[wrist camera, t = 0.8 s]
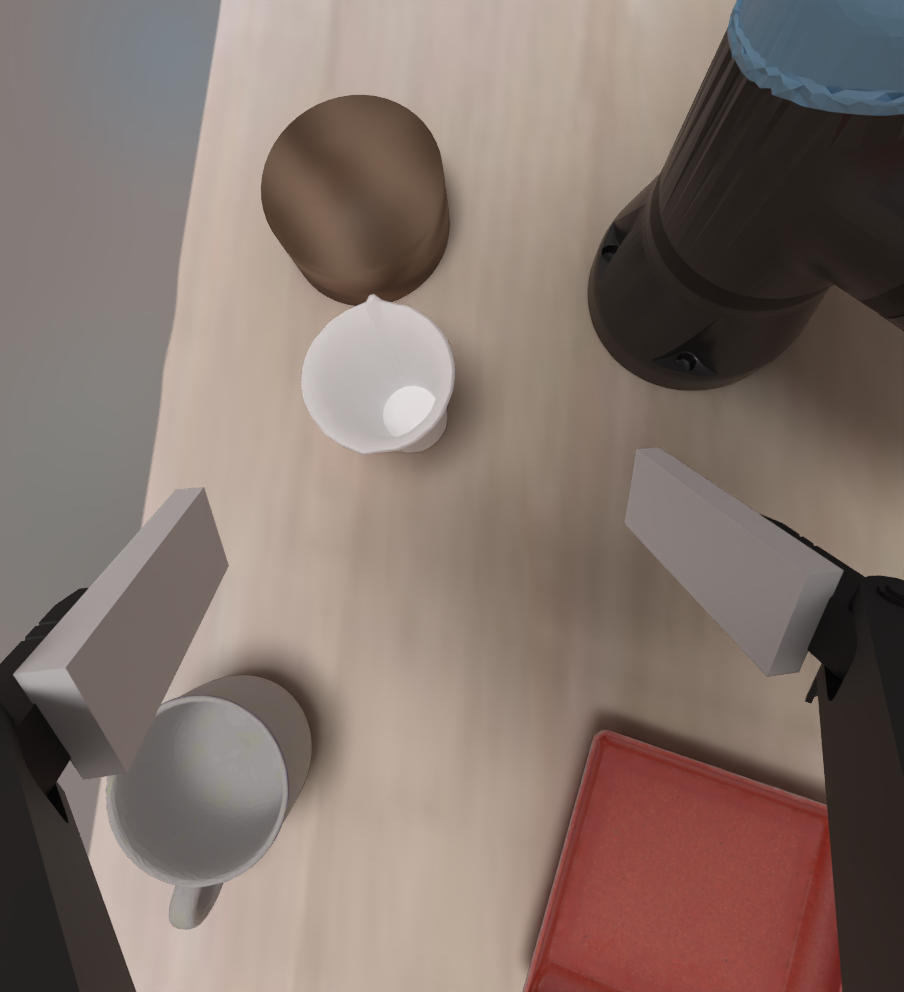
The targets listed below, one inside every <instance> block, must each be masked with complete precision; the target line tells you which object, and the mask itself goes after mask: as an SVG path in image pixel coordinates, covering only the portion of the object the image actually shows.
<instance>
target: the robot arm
mask: <svg viewBox="0 0 904 992" xmlns="http://www.w3.org/2000/svg"><path fill="white" fill-rule="evenodd" d="M833 284H835V285H836V286H838V287H839V288H841V289H842V290H844V291H845V292H847V293H848V294H850V295H851V296H853V297H854V298H856V299H857V300H859V301H861V302H862V303H864V304H865V305H867V306H868V307H870V308H871V309H873V310H874V311H876V312H877V313H879V314H880V315H881V316H883V317H884V318H885V319H886V320H888V321H889V322H891V323H892V324H894V325H895V326H897V327H898V328H900V329H901V330H903V331H904V0H737V2H736V4H735V6H734V8H733V10H732V13H731V17H730V21H729V26H728V28H727V30H726V33H725V35H724V37H723V39H722V41H721V43H720V46H719V48H718V50H717V52H716V54H715V56H714V59H713V61H712V63H711V65H710V67H709V69H708V71H707V74H706V76H705V78H704V80H703V82H702V84H701V87H700V89H699V91H698V93H697V95H696V97H695V100H694V102H693V104H692V106H691V108H690V110H689V112H688V115H687V117H686V119H685V121H684V123H683V125H682V128H681V130H680V132H679V134H678V136H677V138H676V141H675V143H674V145H673V147H672V149H671V151H670V154H669V156H668V158H667V160H666V163H665V165H664V167H663V169H662V171H661V173H660V174H659V175H658V176H657V177H656V178H655V179H654V180H653V181H652V182H651V183H650V184H649V185H648V186H647V187H645V188H644V189H643V190H642V191H641V192H640V193H639V194H638V195H637V196H636V197H635V198H634V199H633V200H632V201H631V202H630V203H629V204H628V205H627V206H626V207H625V208H624V209H623V210H622V211H621V212H620V213H619V214H618V216H617V217H616V218H615V220H614V221H613V222H612V224H611V225H610V227H609V228H608V230H607V232H606V233H605V235H604V237H603V239H602V241H601V244H600V246H599V249H598V251H597V254H596V257H595V259H594V262H593V265H592V268H591V272H590V276H589V283H588V304H589V310H590V315H591V319H592V322H593V325H594V327H595V330H596V332H597V334H598V336H599V338H600V339H601V341H602V343H603V344H604V346H605V347H606V348H607V350H608V351H609V352H610V353H611V355H612V356H613V357H614V358H615V359H616V360H617V361H618V362H619V363H620V364H622V365H623V366H624V367H625V368H627V369H628V370H629V371H631V372H632V373H634V374H635V375H637V376H639V377H641V378H643V379H645V380H647V381H649V382H652V383H655V384H657V385H661V386H664V387H669V388H673V389H680V390H705V389H712V388H717V387H721V386H725V385H728V384H731V383H734V382H736V381H738V380H741V379H743V378H745V377H747V376H748V375H750V374H752V373H753V372H755V371H757V370H758V369H760V368H761V367H763V366H765V365H766V364H768V363H769V362H771V361H772V360H774V359H775V358H776V357H778V356H779V355H780V354H781V353H782V352H783V351H784V350H785V349H787V348H788V346H789V345H790V344H791V343H792V342H793V341H794V340H795V339H796V338H797V336H798V335H799V334H800V332H801V331H802V330H803V328H804V327H805V325H806V323H807V322H808V320H809V319H810V317H811V316H812V314H813V312H814V311H815V309H816V308H817V306H818V305H819V303H820V301H821V300H822V298H823V297H824V295H825V294H826V292H827V290H828V289H829V287H830V286H832V285H833ZM624 524H625V525H626V526H627V527H628V528H629V529H630V530H631V531H632V532H633V534H634V535H635V536H636V537H637V538H638V539H639V540H640V541H641V542H642V543H643V544H644V545H645V546H646V547H647V549H648V550H649V551H650V552H651V553H652V554H653V555H654V556H655V557H656V558H657V559H658V560H659V561H660V562H661V564H662V565H663V566H664V567H665V568H666V569H667V570H668V571H669V572H670V573H671V574H672V575H673V576H674V577H675V579H676V580H677V581H678V582H679V583H680V584H681V585H682V586H683V587H684V588H685V589H686V590H687V591H688V592H689V594H690V595H691V596H692V597H693V598H694V599H695V600H696V601H697V602H698V603H699V604H700V605H701V606H702V607H703V609H704V610H705V611H706V612H707V613H708V614H709V615H710V616H711V617H712V618H713V619H714V620H715V621H716V622H717V624H718V625H719V626H720V627H721V628H722V629H723V630H724V631H725V632H726V633H727V634H728V635H729V636H730V638H731V639H732V640H733V641H734V642H735V643H736V644H737V645H738V646H739V647H740V648H741V649H742V650H743V651H744V653H745V654H746V655H747V656H748V657H749V658H750V659H751V660H752V661H753V662H754V663H755V664H756V665H757V666H758V668H759V669H760V670H761V671H762V672H763V673H764V674H765V675H766V676H767V677H769V676H776V675H782V674H789V673H796V672H799V671H800V668H801V666H802V664H803V662H804V659H805V657H806V655H807V652H808V651H809V652H810V653H811V654H812V655H814V656H815V657H816V658H817V659H818V660H819V661H820V662H821V663H822V664H821V666H820V668H819V670H818V672H817V675H816V677H815V679H814V681H813V683H812V685H811V687H810V689H809V692H808V694H807V696H806V700H805V701H806V702H808V703H812V701H813V699H814V697H815V696H818V701H819V714H820V726H821V738H822V750H823V762H824V775H825V787H826V799H827V811H828V823H829V835H830V848H831V860H832V872H833V884H834V896H835V908H836V921H837V933H838V945H839V957H840V969H841V982H842V992H904V580H901V579H898V578H893V577H886V576H868V577H864V576H863V575H861V574H860V573H858V572H856V571H855V570H853V569H852V568H850V567H849V566H847V565H846V564H844V563H843V562H841V561H840V560H838V559H836V558H835V557H833V556H832V555H830V554H829V553H827V552H826V551H824V550H823V549H821V548H820V547H818V546H814V544H813V543H812V542H810V541H809V540H807V539H806V538H804V537H800V536H799V534H798V533H797V532H795V531H794V530H792V529H790V528H789V527H787V526H786V525H784V524H783V523H781V522H778V521H776V520H773V519H771V518H768V517H766V516H764V515H761V514H758V513H757V512H755V511H754V510H752V509H751V508H749V507H748V506H746V505H745V504H743V503H742V502H740V501H739V500H737V499H736V498H734V497H733V496H731V495H730V494H728V493H727V492H725V491H724V490H722V489H721V488H719V487H718V486H716V485H715V484H713V483H712V482H710V481H709V480H707V479H706V478H704V477H703V476H701V475H700V474H698V473H697V472H695V471H694V470H692V469H691V468H689V467H688V466H686V465H685V464H683V463H682V462H680V461H679V460H677V459H676V458H674V457H673V456H671V455H670V454H668V453H667V452H665V451H664V450H662V449H661V448H659V447H656V448H645V449H636V455H635V461H634V467H633V473H632V479H631V485H630V492H629V498H628V504H627V510H626V516H625V522H624ZM228 566H229V565H228V562H227V559H226V556H225V552H224V549H223V546H222V543H221V540H220V536H219V533H218V530H217V527H216V524H215V521H214V517H213V514H212V511H211V508H210V505H209V501H208V498H207V495H206V492H205V489H204V487H200V488H189V489H177V490H175V491H174V492H173V493H172V495H171V496H170V497H169V498H168V499H167V500H166V501H165V502H164V504H163V505H162V506H161V507H160V508H159V509H158V510H157V512H156V513H155V514H154V515H153V516H152V517H151V518H150V519H149V521H148V522H147V523H146V524H145V525H144V526H143V527H142V529H141V530H140V531H139V532H138V533H137V534H136V535H135V536H134V538H133V539H132V540H131V541H130V542H129V543H128V544H127V546H126V547H125V548H124V549H123V550H122V551H121V552H120V554H119V555H118V556H117V557H116V558H115V559H114V560H113V561H112V563H111V564H110V565H109V566H108V567H107V568H106V569H105V571H104V572H103V573H102V574H101V575H100V576H99V577H98V578H97V580H96V581H95V582H94V583H93V584H92V585H91V586H90V588H82V589H78V590H77V591H75V592H74V593H72V594H71V595H69V596H68V597H66V598H65V599H63V600H62V601H61V602H59V603H58V604H56V605H55V606H54V607H53V608H52V609H51V610H50V611H49V612H48V613H47V615H46V616H45V617H44V618H43V619H42V620H41V621H40V622H39V626H35V627H34V628H33V629H32V630H31V632H30V633H29V634H28V635H27V636H26V637H25V641H21V642H20V643H19V645H18V646H16V648H15V649H14V650H13V651H12V652H11V653H10V654H9V655H8V656H7V657H6V658H5V659H4V660H3V662H2V663H1V664H0V992H136V990H135V987H134V984H133V982H132V979H131V976H130V973H129V970H128V968H127V965H126V962H125V959H124V956H123V954H122V951H121V948H120V945H119V943H118V940H117V937H116V934H115V931H114V929H113V926H112V923H111V920H110V917H109V915H108V912H107V909H106V906H105V904H104V901H103V898H102V895H101V892H100V890H99V887H98V884H97V881H96V878H95V876H94V873H93V870H92V867H91V865H90V862H89V859H88V856H87V853H86V851H85V848H84V845H83V842H82V840H81V837H80V834H79V832H78V828H77V826H76V823H75V820H74V817H73V814H72V812H71V809H70V806H69V803H68V801H67V798H66V795H65V792H64V791H63V789H62V788H61V786H60V785H59V784H58V783H57V780H58V778H59V777H60V775H61V773H62V772H63V770H64V768H65V767H66V765H67V764H68V762H69V761H71V762H72V764H73V765H74V767H75V768H76V770H77V771H78V773H79V774H80V776H81V777H82V779H91V778H97V777H104V776H111V775H117V774H124V773H127V772H128V770H129V768H130V766H131V764H132V762H133V760H134V758H135V756H136V754H137V752H138V750H139V748H140V746H141V744H142V742H143V740H144V738H145V736H146V734H147V731H148V729H149V727H150V725H151V723H152V721H153V719H154V717H155V715H156V713H157V711H158V709H159V707H160V705H161V703H162V701H163V699H164V697H165V695H166V693H167V691H168V689H169V687H170V684H171V682H172V680H173V678H174V676H175V674H176V672H177V670H178V668H179V666H180V664H181V662H182V660H183V658H184V656H185V654H186V652H187V650H188V648H189V646H190V644H191V642H192V640H193V638H194V635H195V633H196V631H197V629H198V627H199V625H200V623H201V621H202V619H203V617H204V615H205V613H206V611H207V609H208V607H209V605H210V603H211V601H212V599H213V597H214V595H215V593H216V591H217V589H218V586H219V584H220V582H221V580H222V578H223V576H224V574H225V572H226V570H227V568H228Z"/></svg>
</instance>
